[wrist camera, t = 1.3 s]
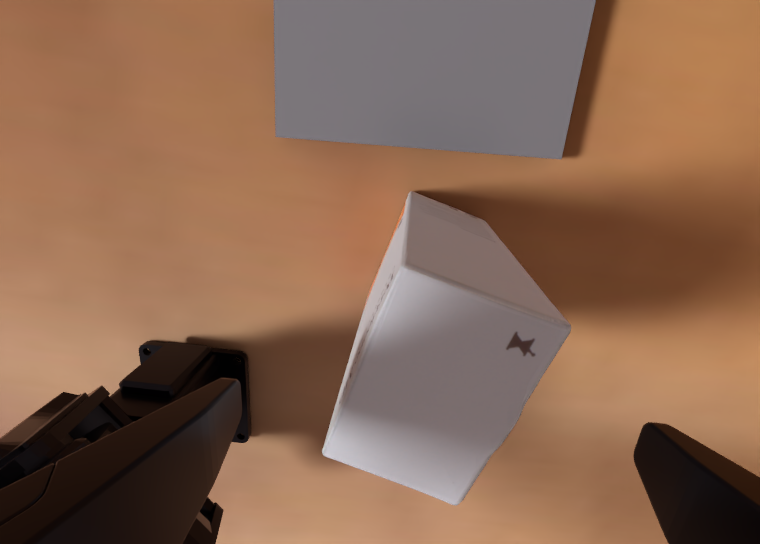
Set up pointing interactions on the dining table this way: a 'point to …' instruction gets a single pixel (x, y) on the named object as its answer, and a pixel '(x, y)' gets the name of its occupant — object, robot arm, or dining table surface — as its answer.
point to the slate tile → (430, 72)
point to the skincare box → (442, 354)
